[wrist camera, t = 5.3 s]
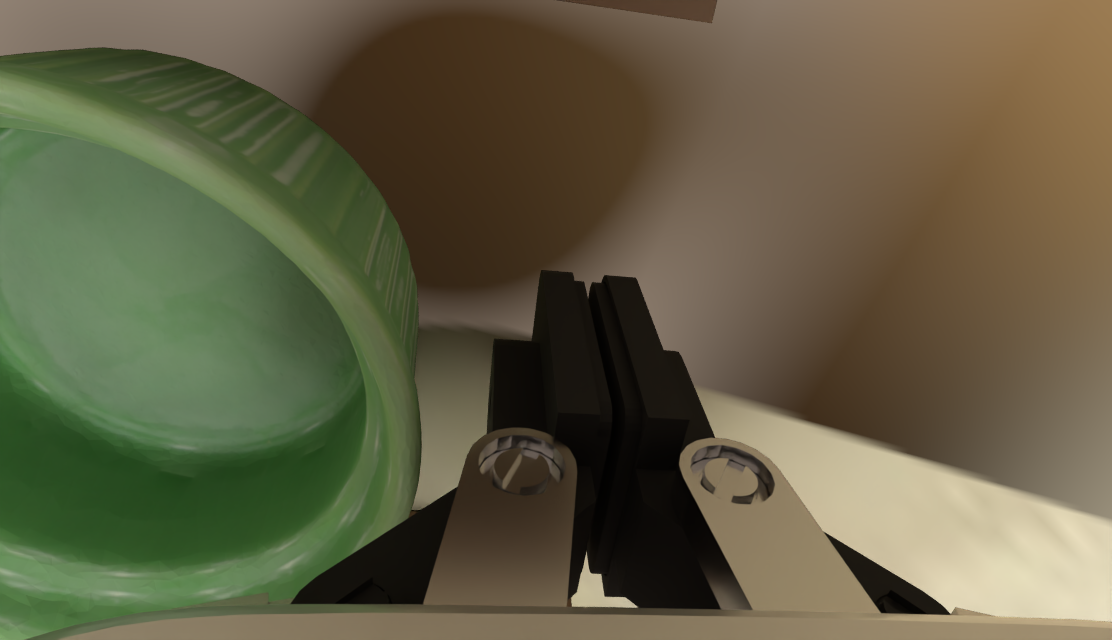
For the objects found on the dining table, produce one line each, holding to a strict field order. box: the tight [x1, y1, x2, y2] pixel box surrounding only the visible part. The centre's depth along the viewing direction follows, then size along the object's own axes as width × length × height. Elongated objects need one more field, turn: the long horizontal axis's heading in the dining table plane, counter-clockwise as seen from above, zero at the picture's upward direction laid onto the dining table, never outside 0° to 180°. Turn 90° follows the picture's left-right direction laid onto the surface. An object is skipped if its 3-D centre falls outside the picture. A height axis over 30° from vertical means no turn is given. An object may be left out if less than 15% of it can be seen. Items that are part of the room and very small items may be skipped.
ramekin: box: [0, 48, 422, 640], centre depth 10 cm, size 9×9×4 cm
